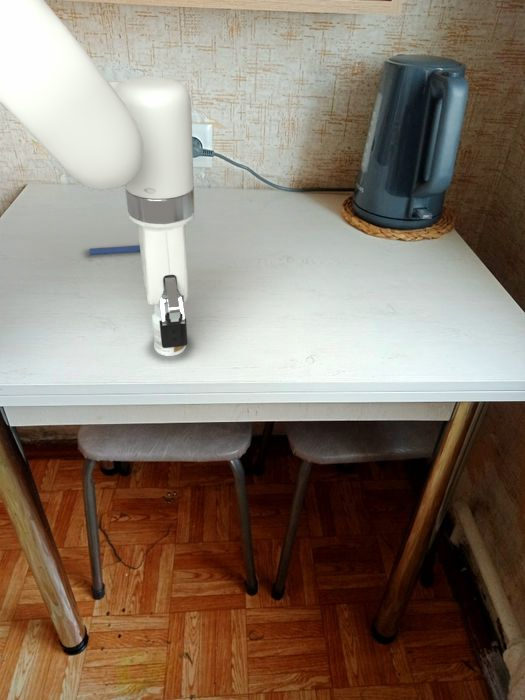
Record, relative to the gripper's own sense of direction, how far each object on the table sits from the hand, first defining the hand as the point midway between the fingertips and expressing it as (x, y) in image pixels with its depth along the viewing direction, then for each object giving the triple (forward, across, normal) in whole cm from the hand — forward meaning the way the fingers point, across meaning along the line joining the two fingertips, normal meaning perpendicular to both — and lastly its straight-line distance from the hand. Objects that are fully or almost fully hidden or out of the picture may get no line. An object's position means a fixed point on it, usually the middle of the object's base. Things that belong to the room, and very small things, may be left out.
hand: (170, 323), depth 68 cm
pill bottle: (+4, 0, 0) cm, 4 cm away
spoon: (+4, -28, -3) cm, 29 cm away
